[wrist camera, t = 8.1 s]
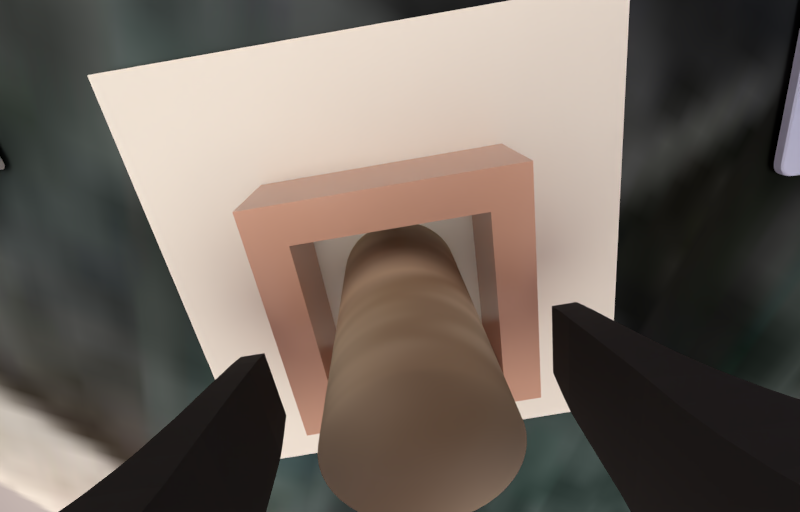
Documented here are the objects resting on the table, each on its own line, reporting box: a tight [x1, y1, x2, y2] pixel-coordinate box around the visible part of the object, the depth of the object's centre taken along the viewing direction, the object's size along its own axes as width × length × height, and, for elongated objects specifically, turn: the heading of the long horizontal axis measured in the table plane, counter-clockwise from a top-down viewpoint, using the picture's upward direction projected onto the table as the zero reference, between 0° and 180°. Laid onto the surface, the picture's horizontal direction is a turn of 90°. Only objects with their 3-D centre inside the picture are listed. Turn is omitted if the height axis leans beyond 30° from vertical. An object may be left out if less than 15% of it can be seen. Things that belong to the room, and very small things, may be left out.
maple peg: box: [318, 224, 527, 512], centre depth 12 cm, size 4×4×8 cm
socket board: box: [87, 0, 630, 459], centre depth 14 cm, size 16×16×4 cm
